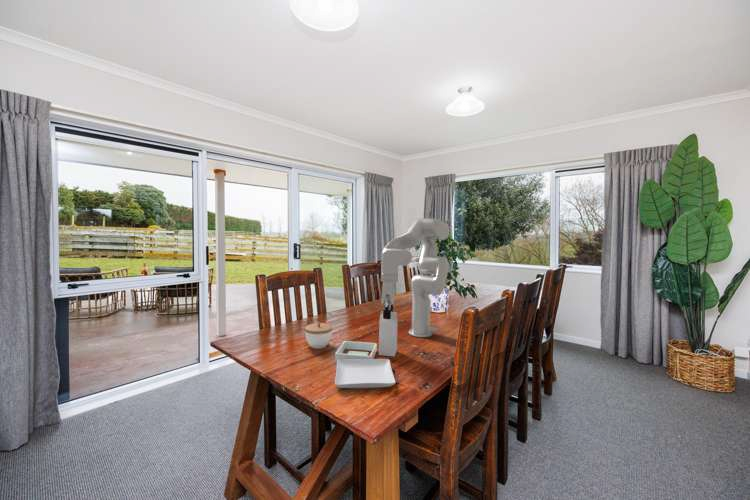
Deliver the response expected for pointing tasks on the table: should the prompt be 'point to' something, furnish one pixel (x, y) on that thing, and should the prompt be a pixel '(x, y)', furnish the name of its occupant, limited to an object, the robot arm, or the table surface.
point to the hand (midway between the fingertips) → (388, 316)
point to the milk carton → (388, 335)
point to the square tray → (355, 346)
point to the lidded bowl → (318, 335)
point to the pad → (358, 353)
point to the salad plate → (364, 373)
